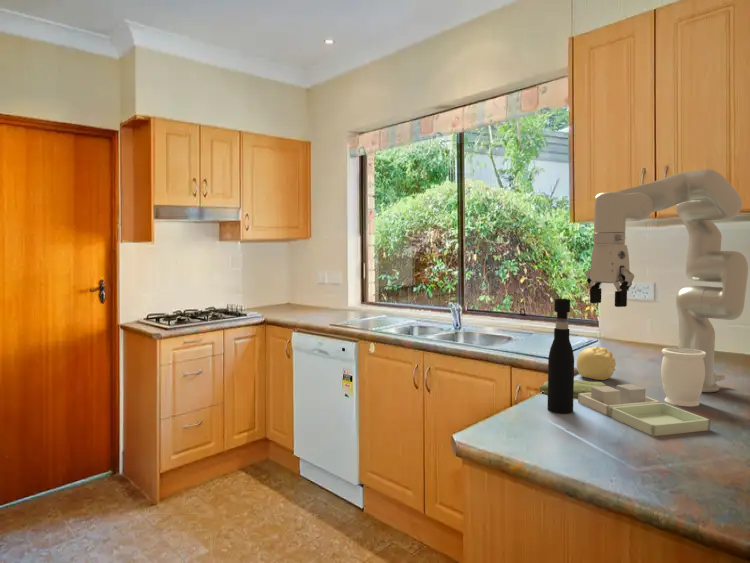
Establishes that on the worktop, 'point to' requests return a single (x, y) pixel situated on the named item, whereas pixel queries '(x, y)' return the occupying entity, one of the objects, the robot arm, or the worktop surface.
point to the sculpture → (596, 363)
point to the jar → (683, 375)
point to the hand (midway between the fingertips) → (607, 304)
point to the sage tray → (659, 419)
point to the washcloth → (576, 387)
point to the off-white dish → (603, 408)
